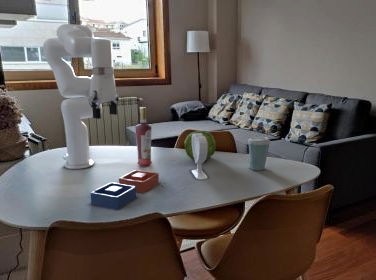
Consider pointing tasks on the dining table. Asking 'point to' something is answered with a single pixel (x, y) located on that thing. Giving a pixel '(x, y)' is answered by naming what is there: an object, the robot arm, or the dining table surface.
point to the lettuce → (209, 140)
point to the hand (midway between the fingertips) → (105, 116)
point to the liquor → (143, 140)
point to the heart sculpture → (199, 154)
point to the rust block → (139, 177)
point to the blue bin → (113, 201)
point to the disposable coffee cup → (258, 152)
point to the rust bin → (140, 185)
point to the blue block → (114, 191)
